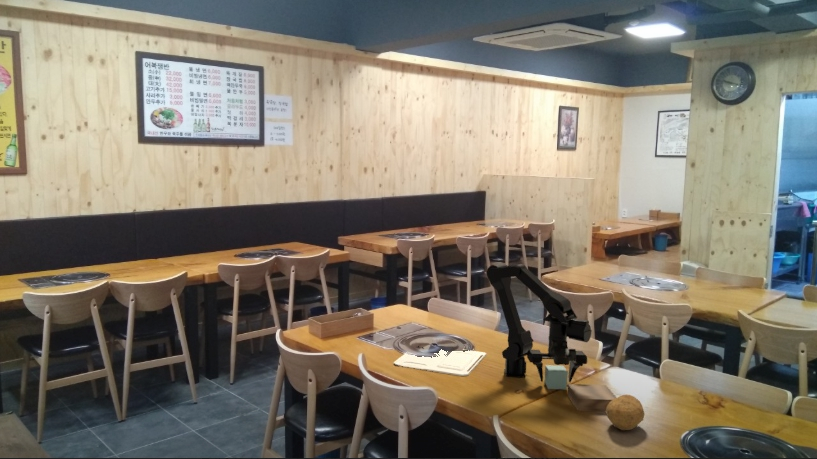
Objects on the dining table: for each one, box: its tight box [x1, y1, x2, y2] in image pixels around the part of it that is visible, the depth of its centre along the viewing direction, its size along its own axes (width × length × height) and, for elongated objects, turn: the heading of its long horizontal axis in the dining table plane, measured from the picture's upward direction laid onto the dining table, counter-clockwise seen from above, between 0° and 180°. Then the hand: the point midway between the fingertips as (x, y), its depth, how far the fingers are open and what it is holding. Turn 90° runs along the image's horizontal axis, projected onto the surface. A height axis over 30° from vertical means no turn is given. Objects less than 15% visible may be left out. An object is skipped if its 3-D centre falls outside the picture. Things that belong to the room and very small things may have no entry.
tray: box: [393, 349, 487, 377], centre depth 222 cm, size 28×28×2 cm
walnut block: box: [567, 383, 617, 412], centre depth 183 cm, size 12×12×4 cm
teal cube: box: [544, 364, 569, 390], centre depth 197 cm, size 6×6×6 cm
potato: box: [605, 394, 646, 431], centre depth 166 cm, size 10×14×8 cm
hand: (555, 381), depth 197 cm, fingers open, 9 cm apart
